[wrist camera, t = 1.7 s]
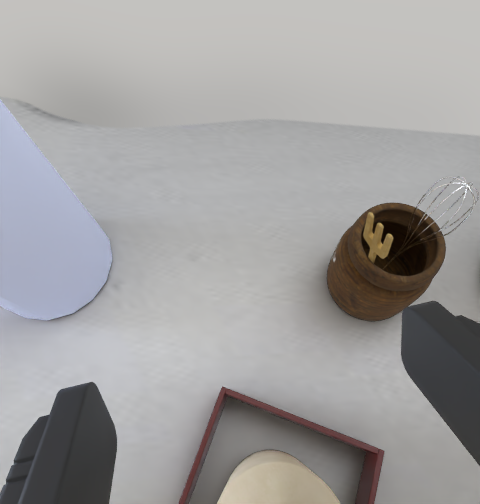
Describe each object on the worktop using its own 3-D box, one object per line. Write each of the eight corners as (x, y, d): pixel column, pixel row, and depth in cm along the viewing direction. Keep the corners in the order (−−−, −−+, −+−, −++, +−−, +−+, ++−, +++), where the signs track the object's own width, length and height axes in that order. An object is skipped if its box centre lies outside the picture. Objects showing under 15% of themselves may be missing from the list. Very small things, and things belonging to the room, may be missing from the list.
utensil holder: (426, 295, 27) (543, 207, 16) (355, 342, 26) (428, 282, 15) (372, 232, 29) (443, 117, 18) (304, 272, 28) (336, 176, 17)
